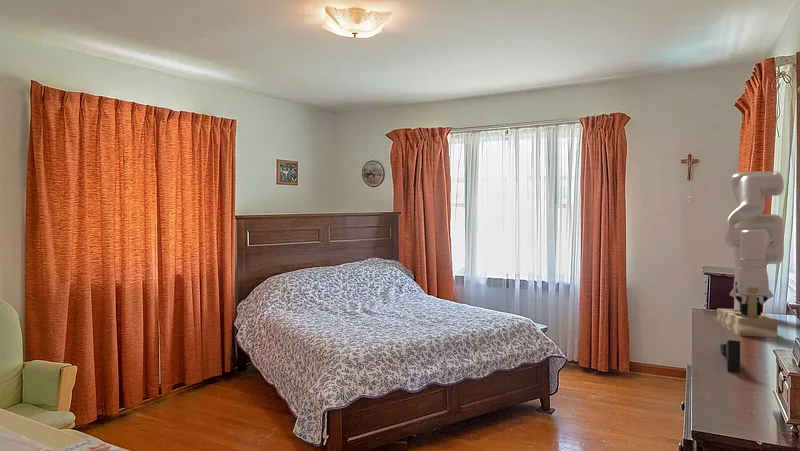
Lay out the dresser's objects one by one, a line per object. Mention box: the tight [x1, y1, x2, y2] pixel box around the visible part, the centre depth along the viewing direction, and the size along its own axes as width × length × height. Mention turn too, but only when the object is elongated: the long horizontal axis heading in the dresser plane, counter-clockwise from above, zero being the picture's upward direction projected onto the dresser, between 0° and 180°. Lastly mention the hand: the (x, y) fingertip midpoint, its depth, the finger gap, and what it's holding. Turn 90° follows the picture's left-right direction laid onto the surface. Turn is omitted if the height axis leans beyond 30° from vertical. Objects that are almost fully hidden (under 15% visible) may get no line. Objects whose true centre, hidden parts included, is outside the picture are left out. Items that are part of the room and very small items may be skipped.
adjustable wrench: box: [719, 339, 741, 374], centre depth 158 cm, size 8×3×25 cm
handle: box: [745, 288, 759, 318], centre depth 196 cm, size 5×6×15 cm
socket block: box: [716, 308, 779, 338], centre depth 200 cm, size 20×12×6 cm, turn 170°
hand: (750, 314), depth 196 cm, fingers closed on handle, 4 cm apart
